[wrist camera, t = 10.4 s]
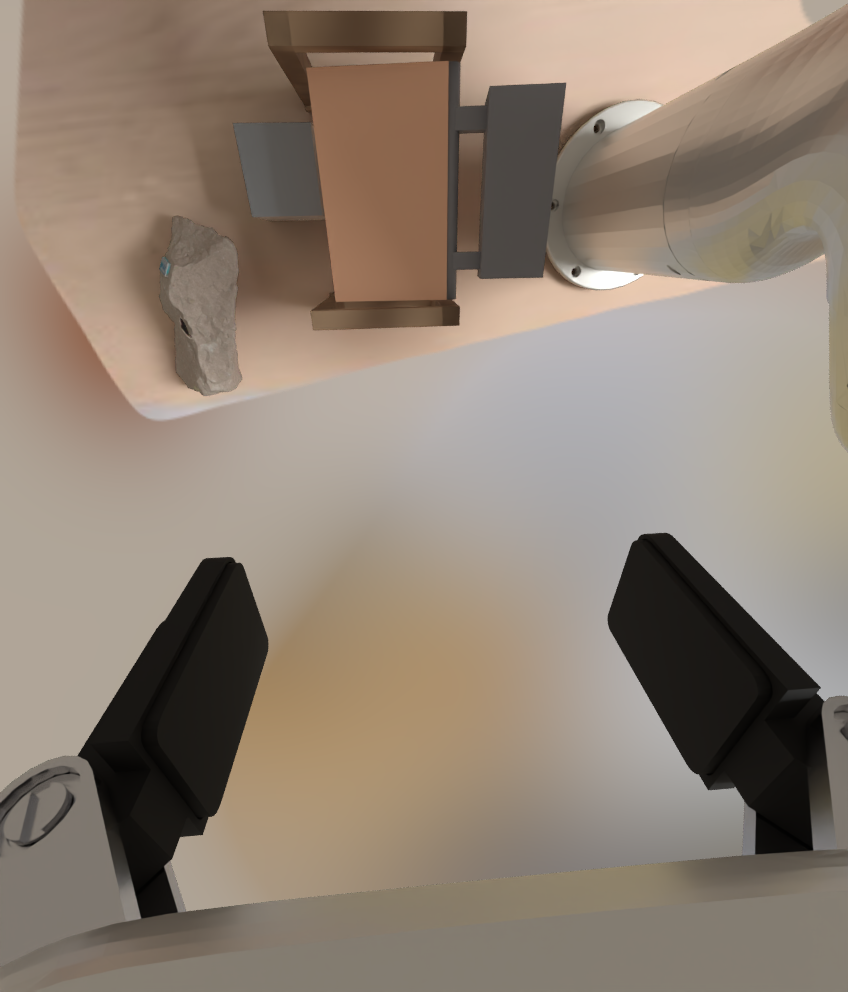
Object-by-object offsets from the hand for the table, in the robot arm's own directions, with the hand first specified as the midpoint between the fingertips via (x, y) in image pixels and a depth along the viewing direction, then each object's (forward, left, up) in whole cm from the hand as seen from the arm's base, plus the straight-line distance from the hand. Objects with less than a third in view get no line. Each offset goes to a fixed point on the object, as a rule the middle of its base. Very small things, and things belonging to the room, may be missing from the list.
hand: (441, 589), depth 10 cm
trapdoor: (-2, -10, -25) cm, 27 cm away
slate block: (+6, -12, -31) cm, 34 cm away
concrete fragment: (+17, -2, -34) cm, 38 cm away
